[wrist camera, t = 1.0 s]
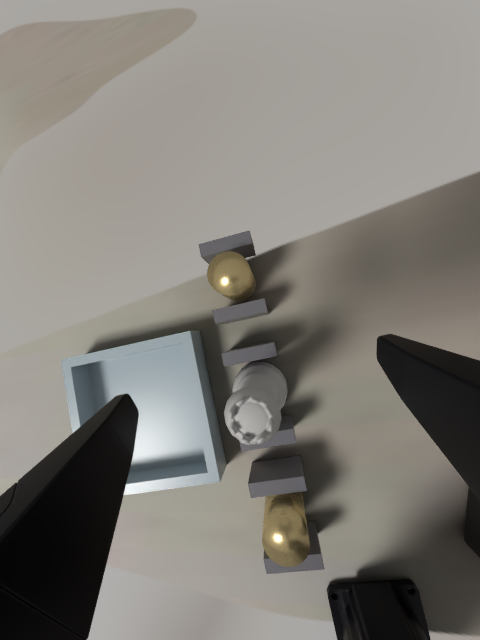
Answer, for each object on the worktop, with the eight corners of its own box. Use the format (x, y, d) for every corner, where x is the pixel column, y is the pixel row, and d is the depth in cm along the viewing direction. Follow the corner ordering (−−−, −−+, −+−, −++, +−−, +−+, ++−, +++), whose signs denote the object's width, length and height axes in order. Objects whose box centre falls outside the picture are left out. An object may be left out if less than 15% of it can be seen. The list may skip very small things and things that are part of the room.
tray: (226, 464, 22) (220, 482, 19) (104, 482, 23) (83, 500, 21) (199, 330, 22) (190, 330, 20) (83, 356, 24) (60, 359, 21)
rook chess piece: (296, 375, 21) (308, 403, 13) (273, 424, 21) (270, 480, 13) (248, 351, 22) (231, 364, 14) (225, 398, 22) (196, 437, 14)
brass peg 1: (258, 297, 22) (254, 288, 17) (225, 305, 22) (212, 298, 18) (251, 263, 22) (244, 246, 18) (218, 271, 22) (203, 257, 18)
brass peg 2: (306, 513, 20) (314, 564, 16) (270, 517, 21) (267, 568, 16) (298, 475, 21) (304, 516, 16) (262, 480, 21) (258, 521, 17)
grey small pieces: (317, 534, 20) (324, 569, 17) (268, 539, 21) (266, 573, 18) (253, 244, 22) (249, 230, 19) (209, 255, 22) (198, 244, 20)
